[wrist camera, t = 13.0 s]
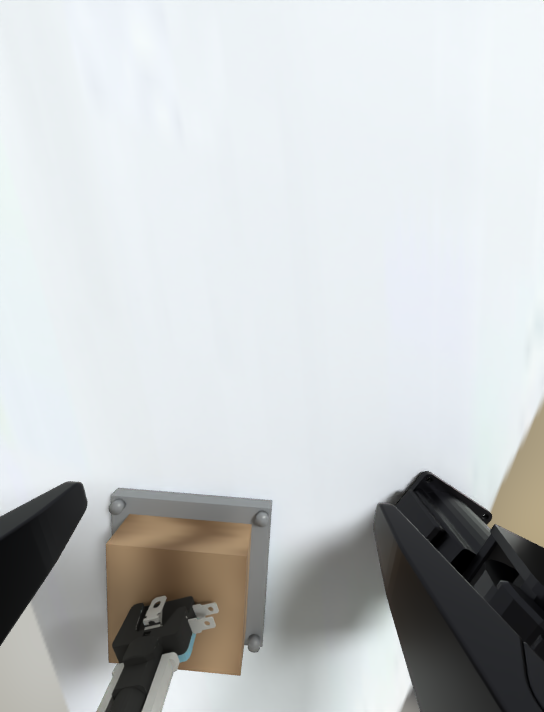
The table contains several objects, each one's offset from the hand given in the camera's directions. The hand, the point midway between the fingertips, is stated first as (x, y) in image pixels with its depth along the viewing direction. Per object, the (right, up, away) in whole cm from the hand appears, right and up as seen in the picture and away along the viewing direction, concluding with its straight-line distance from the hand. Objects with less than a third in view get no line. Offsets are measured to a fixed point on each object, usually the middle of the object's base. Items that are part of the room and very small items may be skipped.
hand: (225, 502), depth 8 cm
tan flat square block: (-6, -14, +15) cm, 21 cm away
